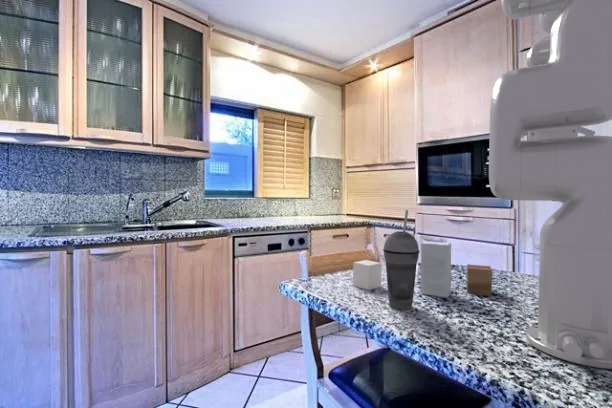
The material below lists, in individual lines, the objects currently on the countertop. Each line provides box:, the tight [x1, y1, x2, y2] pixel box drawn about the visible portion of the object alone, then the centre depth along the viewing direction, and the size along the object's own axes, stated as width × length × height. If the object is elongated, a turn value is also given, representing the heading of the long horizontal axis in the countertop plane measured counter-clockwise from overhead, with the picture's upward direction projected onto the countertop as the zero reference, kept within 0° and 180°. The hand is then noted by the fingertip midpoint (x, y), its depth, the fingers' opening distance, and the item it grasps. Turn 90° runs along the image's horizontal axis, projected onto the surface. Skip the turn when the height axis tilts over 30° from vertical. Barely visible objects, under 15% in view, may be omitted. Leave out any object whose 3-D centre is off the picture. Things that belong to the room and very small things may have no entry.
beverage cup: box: [383, 209, 421, 311], centre depth 67 cm, size 7×7×20 cm
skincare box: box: [420, 241, 452, 299], centre depth 77 cm, size 6×4×12 cm
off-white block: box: [352, 259, 382, 291], centre depth 83 cm, size 5×5×6 cm
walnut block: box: [466, 264, 493, 297], centre depth 79 cm, size 5×5×6 cm
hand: (550, 167), depth 85 cm, fingers open, 9 cm apart
